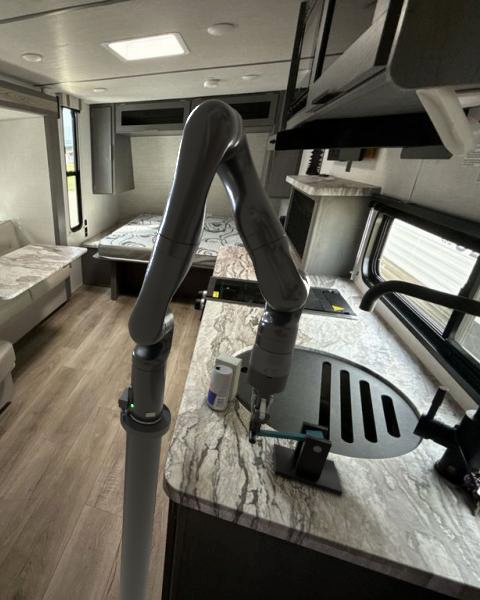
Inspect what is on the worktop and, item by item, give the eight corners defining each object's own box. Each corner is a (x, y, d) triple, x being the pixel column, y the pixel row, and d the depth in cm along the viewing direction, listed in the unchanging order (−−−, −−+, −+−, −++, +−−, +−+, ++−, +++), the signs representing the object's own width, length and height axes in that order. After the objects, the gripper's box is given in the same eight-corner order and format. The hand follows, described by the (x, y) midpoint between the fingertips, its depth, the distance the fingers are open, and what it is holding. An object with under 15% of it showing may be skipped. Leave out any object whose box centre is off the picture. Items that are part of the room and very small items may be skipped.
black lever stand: (275, 474, 66) (286, 436, 62) (273, 447, 73) (283, 411, 69) (340, 496, 62) (357, 456, 58) (332, 465, 69) (346, 427, 65)
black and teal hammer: (249, 445, 68) (248, 436, 67) (249, 426, 73) (248, 418, 72) (325, 455, 62) (325, 445, 61) (320, 434, 67) (320, 425, 66)
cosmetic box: (236, 394, 91) (243, 359, 86) (231, 402, 88) (238, 366, 83) (215, 385, 95) (221, 351, 90) (209, 392, 92) (215, 357, 87)
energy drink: (209, 396, 90) (214, 361, 86) (228, 402, 88) (235, 366, 83) (204, 406, 86) (210, 370, 82) (224, 413, 84) (231, 377, 79)
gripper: (249, 345, 70) (237, 406, 76) (249, 377, 59) (234, 446, 65) (286, 352, 67) (270, 415, 74) (293, 387, 56) (274, 458, 62)
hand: (254, 429), depth 69 cm, fingers closed
